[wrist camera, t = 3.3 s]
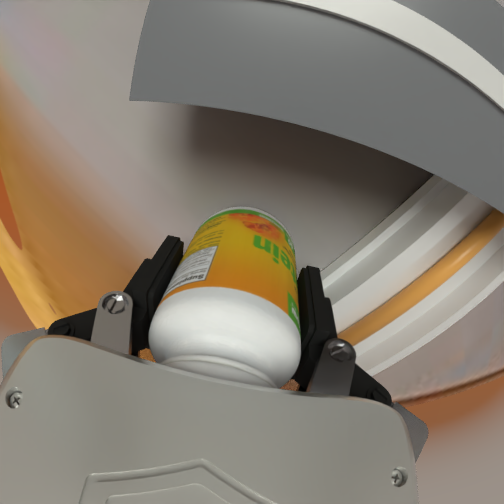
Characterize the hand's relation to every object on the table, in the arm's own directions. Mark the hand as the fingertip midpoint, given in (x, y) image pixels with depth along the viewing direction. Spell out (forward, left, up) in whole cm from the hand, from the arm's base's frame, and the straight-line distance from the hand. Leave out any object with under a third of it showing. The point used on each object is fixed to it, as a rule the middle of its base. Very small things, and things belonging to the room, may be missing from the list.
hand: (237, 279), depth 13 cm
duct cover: (-13, 0, 0) cm, 13 cm away
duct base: (-8, +9, -3) cm, 12 cm away
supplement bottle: (0, 0, -3) cm, 3 cm away
